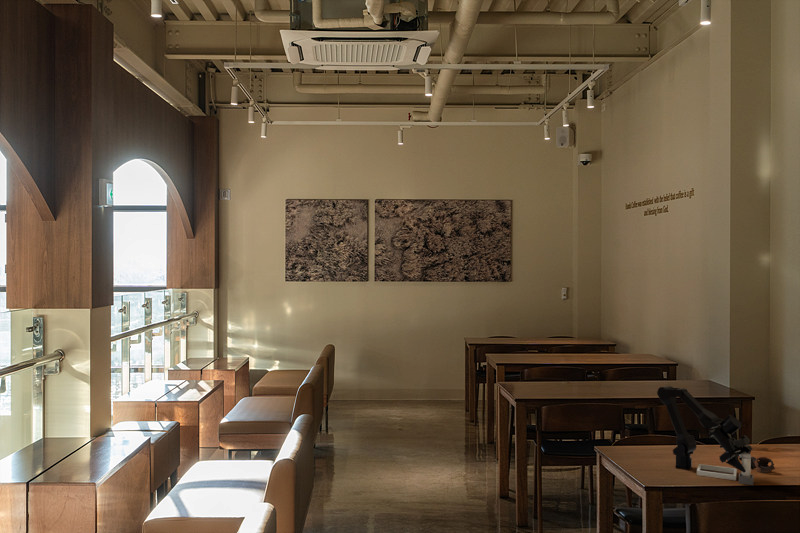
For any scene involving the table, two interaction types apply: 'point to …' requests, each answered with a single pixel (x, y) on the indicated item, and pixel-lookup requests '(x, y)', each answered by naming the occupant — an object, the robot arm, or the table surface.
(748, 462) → the fuse
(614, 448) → the table surface
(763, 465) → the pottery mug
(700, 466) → the parts tray
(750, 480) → the fuse holder
